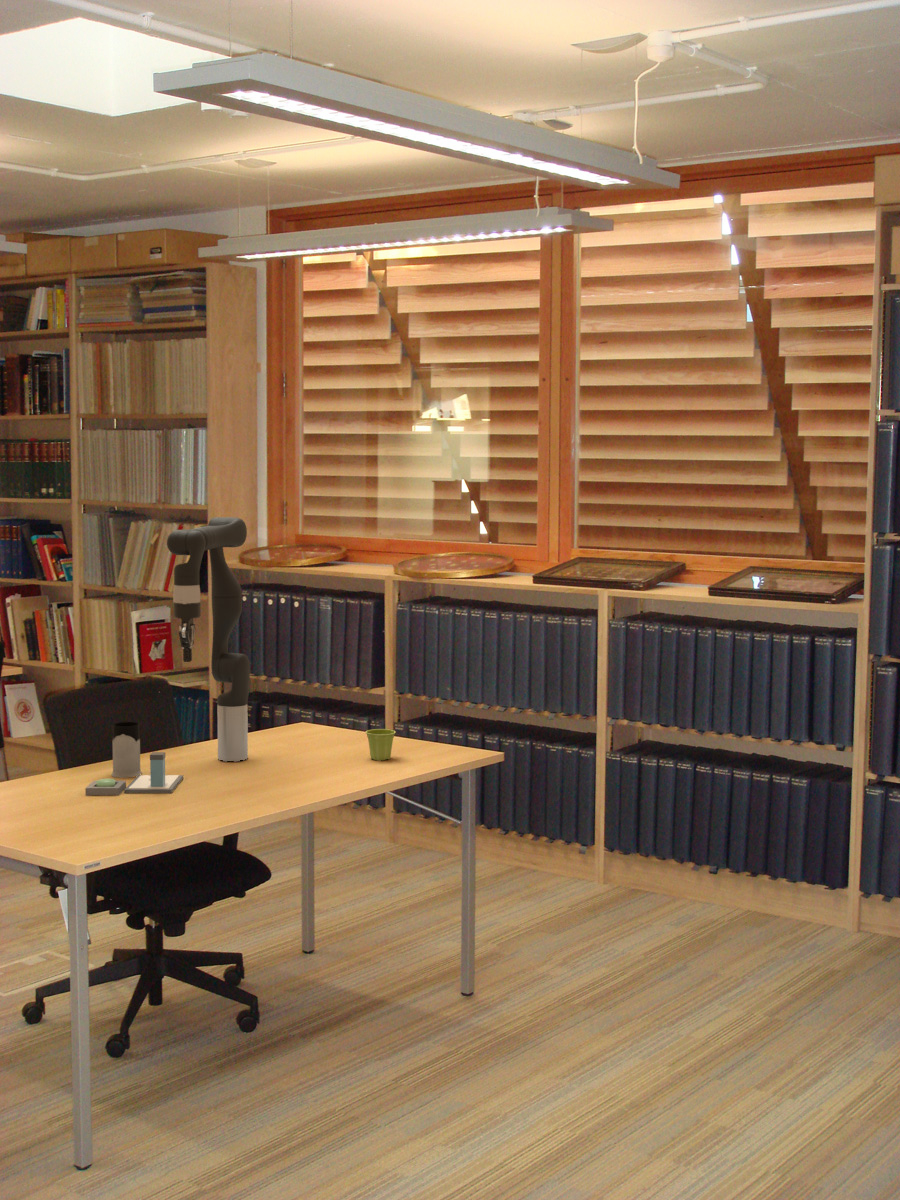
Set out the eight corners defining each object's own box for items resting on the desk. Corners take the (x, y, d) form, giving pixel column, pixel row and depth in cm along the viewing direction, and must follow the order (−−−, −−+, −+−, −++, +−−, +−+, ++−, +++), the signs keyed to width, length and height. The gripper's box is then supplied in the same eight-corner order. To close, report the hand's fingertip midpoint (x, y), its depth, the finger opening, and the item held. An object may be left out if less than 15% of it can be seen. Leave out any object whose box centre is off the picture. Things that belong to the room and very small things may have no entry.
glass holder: (108, 777, 373) (107, 726, 372) (119, 767, 387) (119, 718, 386) (138, 777, 373) (137, 727, 372) (148, 767, 388) (148, 718, 386)
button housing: (93, 787, 361) (93, 780, 361) (125, 787, 361) (125, 780, 361) (85, 795, 352) (85, 788, 352) (118, 795, 352) (118, 788, 352)
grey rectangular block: (152, 783, 361) (152, 752, 360) (165, 783, 361) (165, 752, 360) (150, 786, 357) (149, 754, 356) (163, 786, 357) (162, 754, 356)
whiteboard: (138, 778, 373) (138, 774, 372) (183, 778, 373) (183, 774, 373) (124, 793, 355) (124, 788, 355) (171, 793, 355) (171, 788, 355)
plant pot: (367, 755, 407) (367, 728, 406) (396, 756, 407) (396, 729, 406) (363, 761, 398) (364, 734, 397) (394, 762, 397) (394, 734, 397)
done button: (99, 787, 359) (98, 778, 359) (117, 787, 359) (116, 778, 359) (94, 791, 354) (94, 782, 354) (112, 791, 354) (112, 782, 354)
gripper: (178, 598, 370) (178, 658, 371) (169, 602, 357) (169, 664, 358) (204, 598, 370) (204, 658, 372) (196, 603, 357) (196, 664, 358)
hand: (187, 661), depth 365 cm, fingers closed
